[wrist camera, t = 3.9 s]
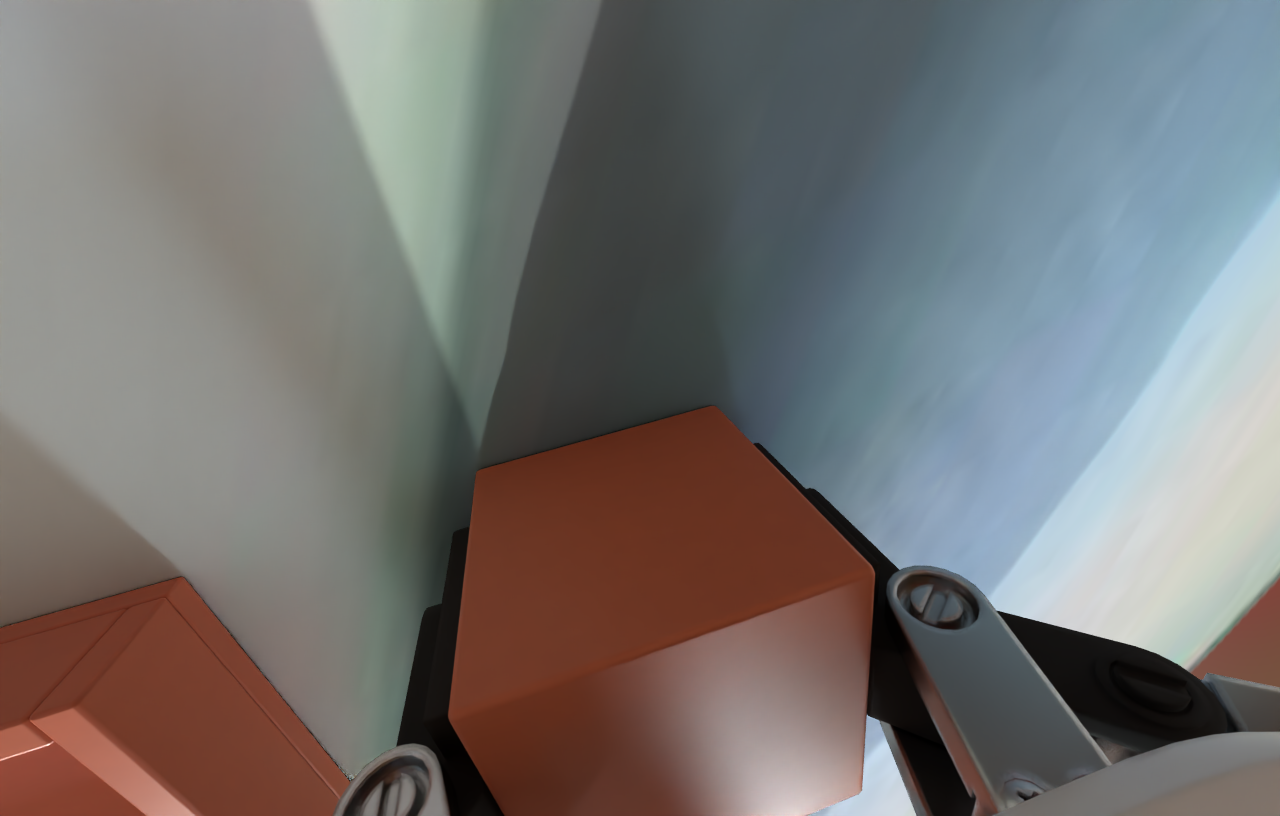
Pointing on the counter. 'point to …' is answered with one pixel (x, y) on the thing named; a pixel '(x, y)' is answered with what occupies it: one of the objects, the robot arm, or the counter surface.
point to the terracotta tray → (149, 717)
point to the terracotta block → (660, 632)
